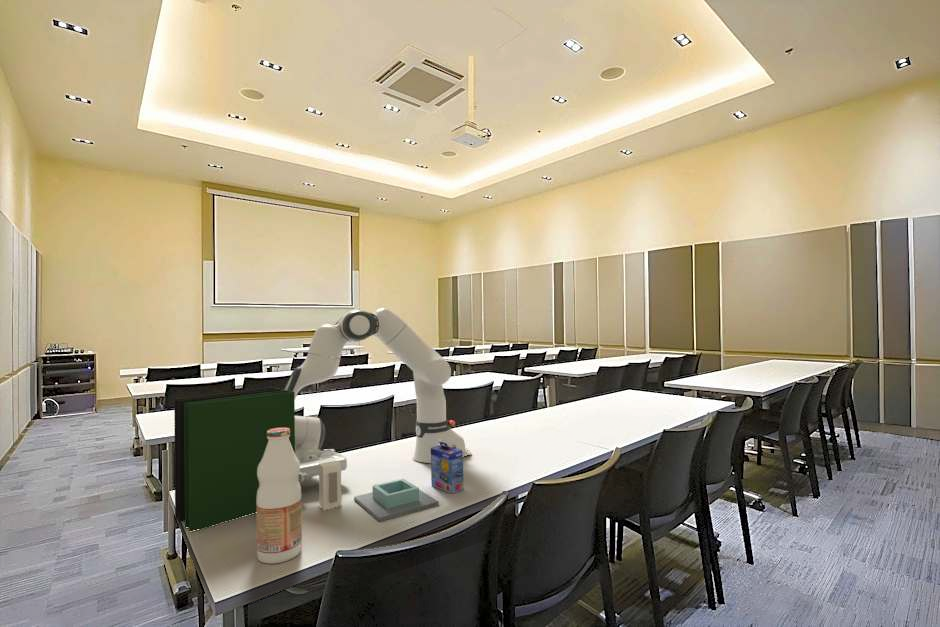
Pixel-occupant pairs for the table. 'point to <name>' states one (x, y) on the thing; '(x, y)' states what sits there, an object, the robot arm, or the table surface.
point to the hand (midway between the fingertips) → (320, 474)
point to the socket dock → (395, 500)
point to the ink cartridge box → (447, 468)
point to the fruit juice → (278, 500)
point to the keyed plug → (330, 484)
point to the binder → (224, 451)
